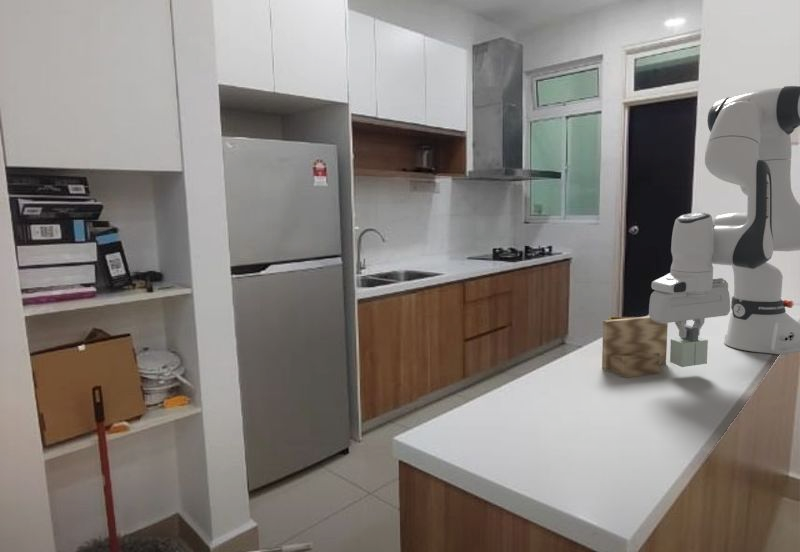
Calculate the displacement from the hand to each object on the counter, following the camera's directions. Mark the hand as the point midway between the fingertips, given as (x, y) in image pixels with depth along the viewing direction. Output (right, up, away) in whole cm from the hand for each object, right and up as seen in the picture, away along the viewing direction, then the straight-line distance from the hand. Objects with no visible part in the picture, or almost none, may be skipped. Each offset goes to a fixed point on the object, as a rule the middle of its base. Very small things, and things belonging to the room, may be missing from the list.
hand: (689, 336), depth 121 cm
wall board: (-8, -9, +6) cm, 14 cm away
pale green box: (0, -7, +1) cm, 7 cm away
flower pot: (-5, -7, +23) cm, 25 cm away
